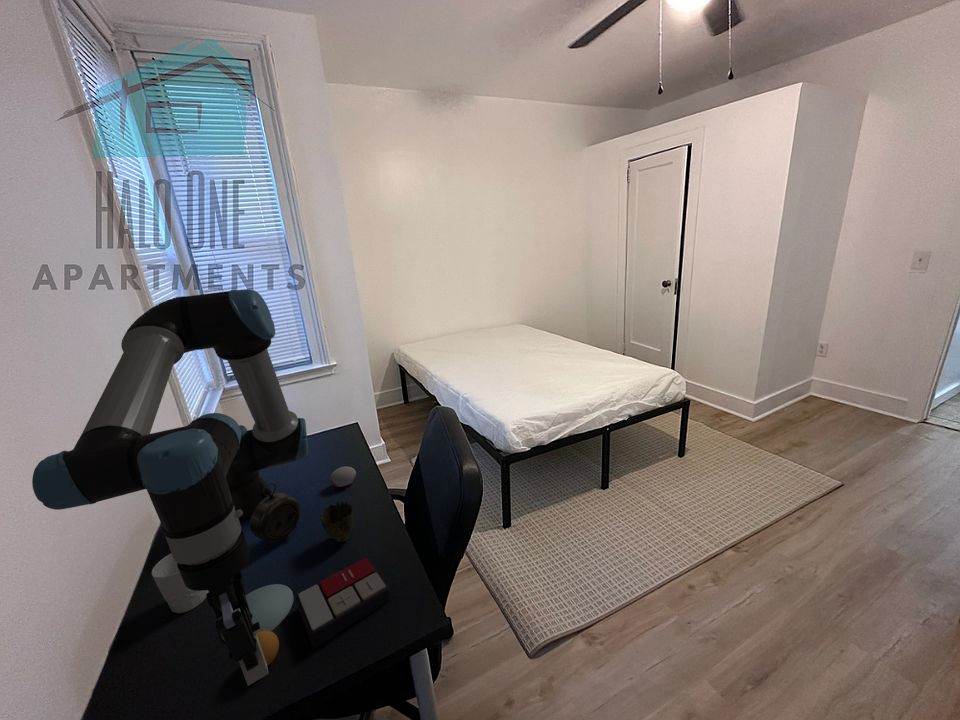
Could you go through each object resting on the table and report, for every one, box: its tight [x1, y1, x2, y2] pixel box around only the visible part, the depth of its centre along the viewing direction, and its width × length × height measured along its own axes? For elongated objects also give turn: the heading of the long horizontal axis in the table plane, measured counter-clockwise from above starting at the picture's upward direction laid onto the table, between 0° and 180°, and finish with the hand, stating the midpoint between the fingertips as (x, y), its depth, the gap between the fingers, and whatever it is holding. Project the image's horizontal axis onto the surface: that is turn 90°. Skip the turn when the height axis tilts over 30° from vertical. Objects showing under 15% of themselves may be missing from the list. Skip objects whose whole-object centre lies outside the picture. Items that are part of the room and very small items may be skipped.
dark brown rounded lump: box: [319, 501, 354, 544], centre depth 95 cm, size 8×7×8 cm
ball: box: [256, 630, 280, 667], centre depth 67 cm, size 6×6×6 cm
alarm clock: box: [249, 481, 301, 551], centre depth 95 cm, size 11×5×16 cm, turn 150°
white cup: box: [150, 553, 209, 614], centre depth 81 cm, size 8×8×10 cm
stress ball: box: [329, 466, 357, 490], centre depth 118 cm, size 8×8×7 cm
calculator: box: [295, 557, 391, 650], centre depth 77 cm, size 11×4×15 cm
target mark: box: [219, 583, 294, 642], centre depth 78 cm, size 13×13×1 cm
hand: (257, 675), depth 58 cm, fingers closed
